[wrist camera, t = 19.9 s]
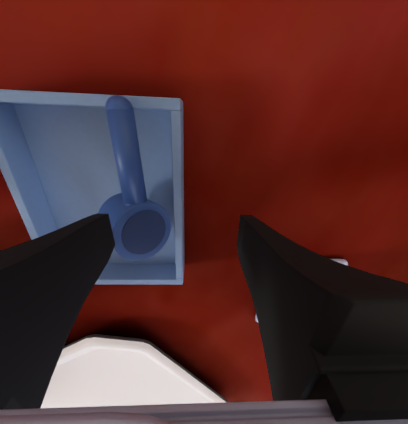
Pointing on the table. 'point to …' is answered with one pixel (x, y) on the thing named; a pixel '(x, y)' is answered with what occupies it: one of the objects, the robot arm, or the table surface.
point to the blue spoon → (132, 190)
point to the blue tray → (92, 169)
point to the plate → (122, 376)
